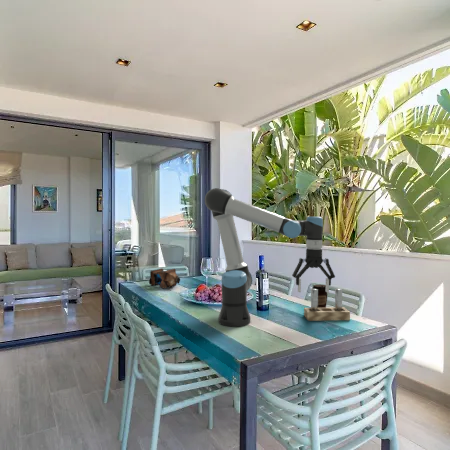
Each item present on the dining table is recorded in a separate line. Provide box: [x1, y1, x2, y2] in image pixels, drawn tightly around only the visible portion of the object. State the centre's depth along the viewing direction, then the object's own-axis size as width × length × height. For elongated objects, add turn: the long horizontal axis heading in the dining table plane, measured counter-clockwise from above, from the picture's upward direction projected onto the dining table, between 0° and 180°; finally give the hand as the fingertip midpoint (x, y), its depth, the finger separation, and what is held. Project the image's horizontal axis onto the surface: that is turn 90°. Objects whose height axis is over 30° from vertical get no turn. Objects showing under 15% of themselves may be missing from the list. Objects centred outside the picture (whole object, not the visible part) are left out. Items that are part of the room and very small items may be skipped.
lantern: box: [148, 268, 181, 289], centre depth 244 cm, size 16×16×25 cm
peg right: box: [334, 288, 343, 311], centre depth 168 cm, size 3×3×14 cm
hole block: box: [303, 306, 351, 322], centre depth 168 cm, size 20×8×4 cm, turn 91°
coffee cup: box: [311, 283, 328, 308], centre depth 182 cm, size 9×8×13 cm
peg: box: [310, 288, 318, 311], centre depth 168 cm, size 3×3×14 cm
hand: (313, 292), depth 168 cm, fingers open, 13 cm apart
